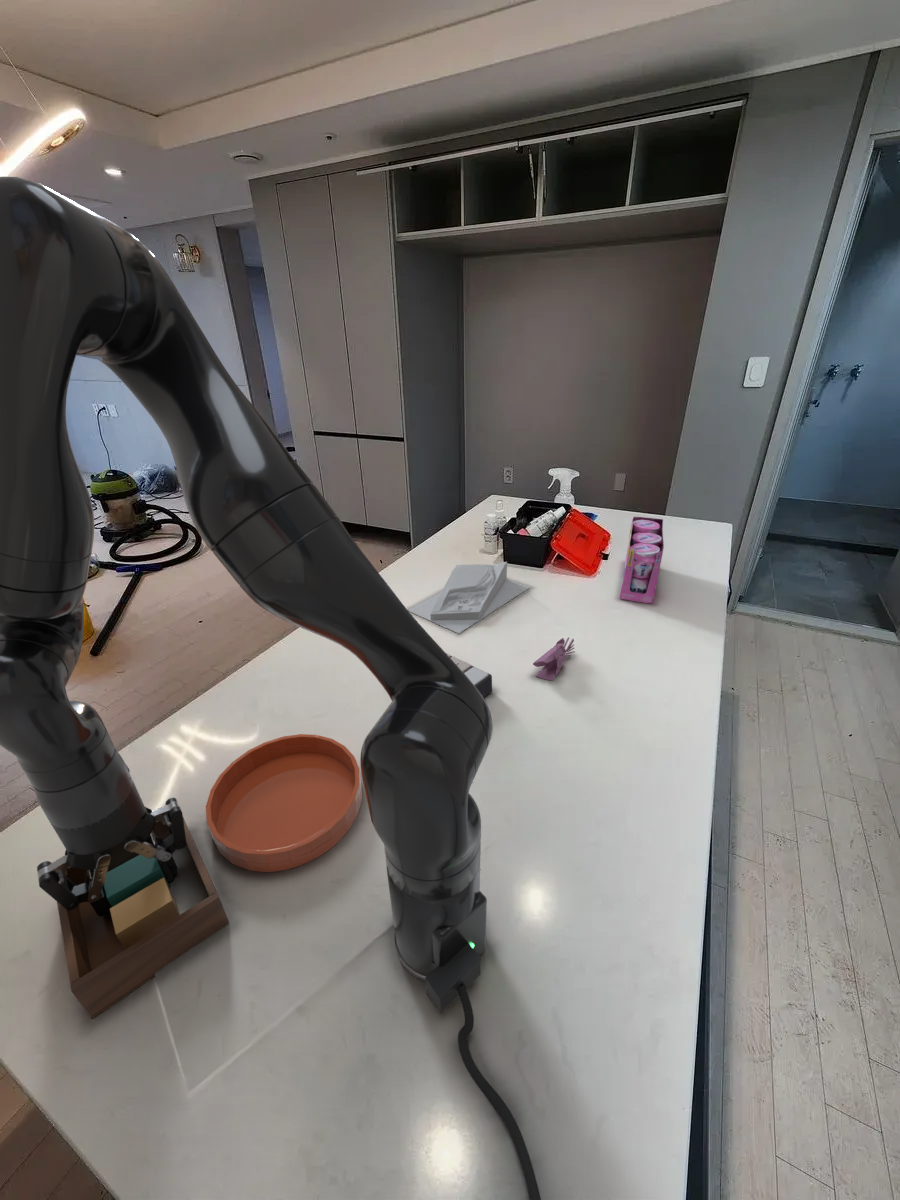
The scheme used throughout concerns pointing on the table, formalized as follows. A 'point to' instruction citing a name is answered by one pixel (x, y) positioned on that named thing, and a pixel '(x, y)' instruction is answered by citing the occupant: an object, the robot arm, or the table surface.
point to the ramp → (469, 596)
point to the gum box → (642, 560)
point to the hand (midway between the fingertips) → (140, 891)
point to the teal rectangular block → (132, 878)
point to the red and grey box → (475, 676)
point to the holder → (116, 972)
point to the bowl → (284, 802)
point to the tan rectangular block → (143, 913)
